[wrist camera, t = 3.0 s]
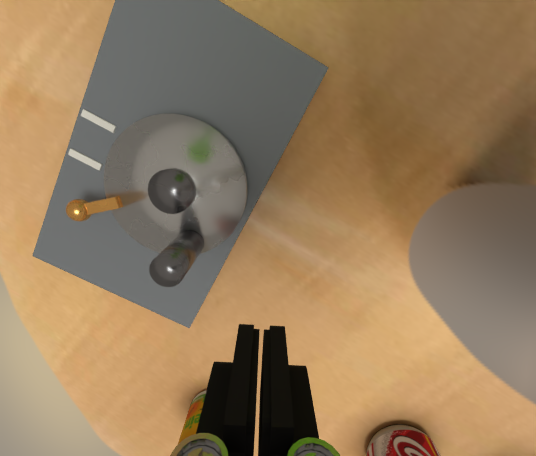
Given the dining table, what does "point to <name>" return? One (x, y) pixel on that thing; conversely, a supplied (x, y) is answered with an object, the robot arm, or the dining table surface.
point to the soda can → (401, 442)
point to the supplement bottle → (193, 416)
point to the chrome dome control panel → (171, 190)
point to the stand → (183, 103)
